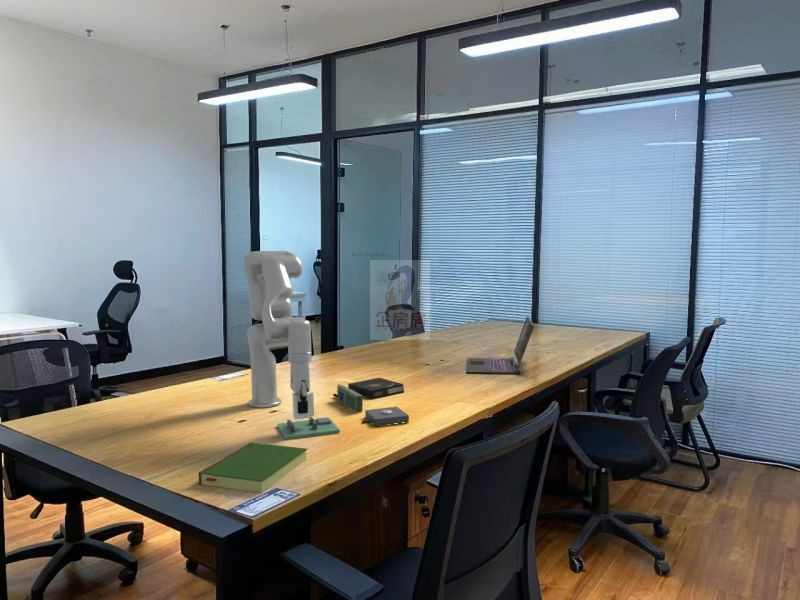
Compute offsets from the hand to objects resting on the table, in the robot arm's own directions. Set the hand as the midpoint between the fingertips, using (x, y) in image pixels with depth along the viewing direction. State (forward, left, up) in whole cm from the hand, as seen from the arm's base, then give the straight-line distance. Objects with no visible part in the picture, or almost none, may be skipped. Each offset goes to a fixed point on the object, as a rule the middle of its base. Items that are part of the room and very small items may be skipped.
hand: (301, 410), depth 194 cm
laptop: (-63, +112, -7) cm, 129 cm away
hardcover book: (+31, -19, -7) cm, 37 cm away
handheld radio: (-25, +22, -7) cm, 35 cm away
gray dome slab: (0, +28, -7) cm, 29 cm away
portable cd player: (-39, +39, -7) cm, 56 cm away
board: (0, +2, -7) cm, 7 cm away
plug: (0, 0, -2) cm, 2 cm away
